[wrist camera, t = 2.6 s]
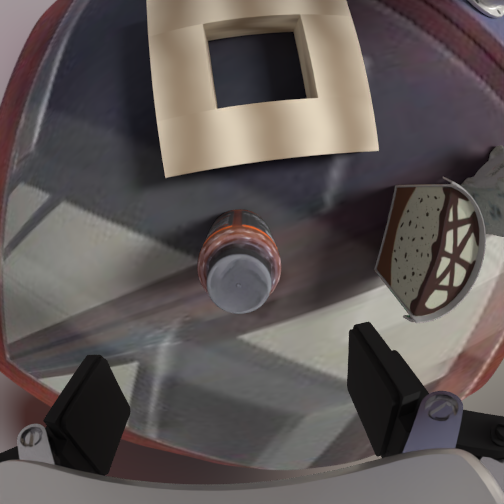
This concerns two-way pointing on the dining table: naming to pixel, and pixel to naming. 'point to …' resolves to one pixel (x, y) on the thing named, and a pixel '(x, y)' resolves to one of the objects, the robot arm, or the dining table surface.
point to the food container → (431, 248)
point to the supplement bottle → (239, 262)
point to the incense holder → (490, 191)
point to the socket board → (258, 114)
